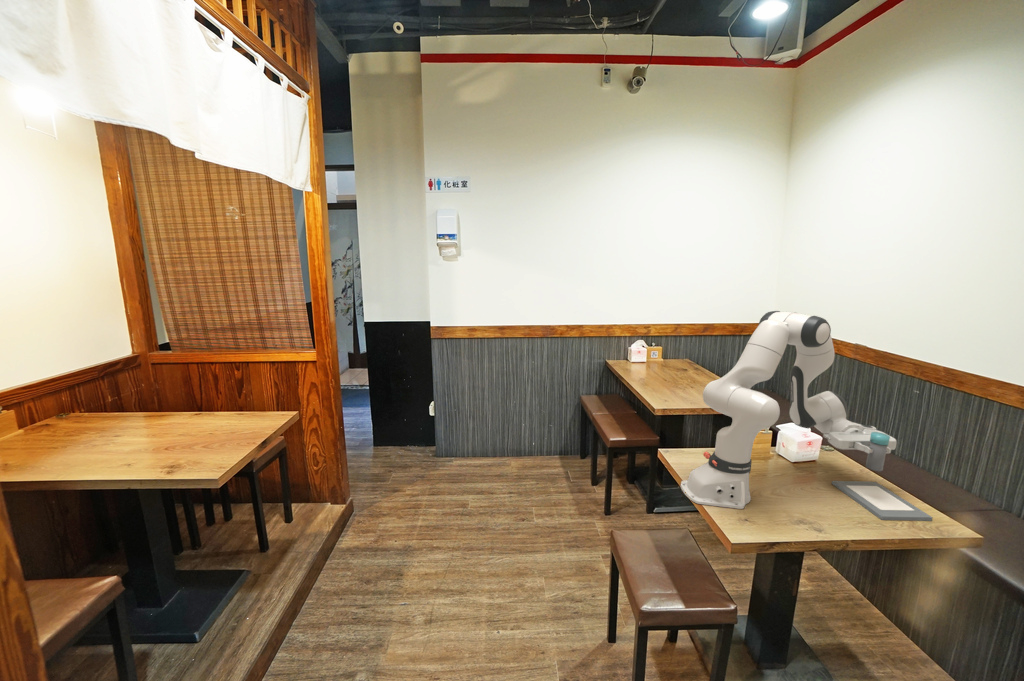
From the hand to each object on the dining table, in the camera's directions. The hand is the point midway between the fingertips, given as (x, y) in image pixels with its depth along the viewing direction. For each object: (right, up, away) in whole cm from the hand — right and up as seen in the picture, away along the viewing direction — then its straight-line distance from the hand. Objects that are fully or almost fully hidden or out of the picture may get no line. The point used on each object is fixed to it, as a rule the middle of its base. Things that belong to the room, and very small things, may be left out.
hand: (879, 451), depth 144 cm
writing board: (+3, -18, +4) cm, 19 cm away
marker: (0, -6, +2) cm, 7 cm away
